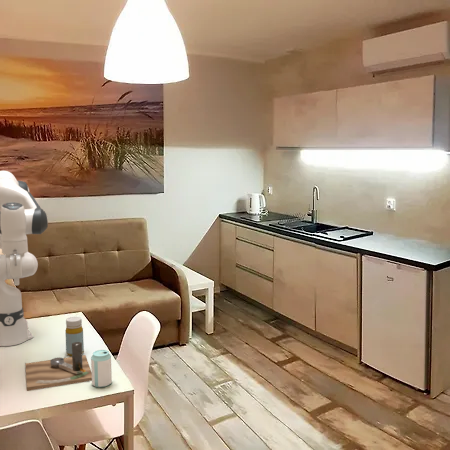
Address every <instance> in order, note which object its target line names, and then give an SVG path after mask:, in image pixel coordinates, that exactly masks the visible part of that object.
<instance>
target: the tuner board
mask: <svg viewBox="0 0 450 450" xmlns="http://www.w3.org/2000/svg"><path fill="white" fill-rule="evenodd" d="M62 358H63V359H64V362H66V363H68V364H71V365H73V364H72V356H68V357H62ZM50 361H51V359H47V360H41V361H40V360H39V361H34V362H25V365H24V366H25V379H26V392H28V391H34V390H35V391H36V390H40V389H46V388H52V387H53V388H55V387H60V386H65V385H66V386H67V385H74V384H78V383H85V382H92V370H91V367H90V364H89V361H88V359H87V356H86V354H84V355H83V354H82V363H83V369H84V370H86V372H82V373H79V374H74V373H72V372H69V371H67V370H64V369H62V368H53V367H51V363H50Z"/></svg>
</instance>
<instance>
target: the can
mask: <svg viewBox="0 0 450 450" xmlns="http://www.w3.org/2000/svg"><path fill="white" fill-rule="evenodd" d="M90 360H91V362H90V365H91V367H90V369H91V372H92V381H91V384H92V386H94V387H96V388H105V387H108V386H110V385H111V384H112V380H113V379H112V378H113V376H112V373H113V372H112V355H111V354H110V351H109V350H108V349H107V350H106V349H98V350H95V351H93V353H92V355H91V358H90Z"/></svg>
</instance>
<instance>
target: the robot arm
mask: <svg viewBox="0 0 450 450" xmlns="http://www.w3.org/2000/svg"><path fill="white" fill-rule="evenodd" d="M48 225H49V219H48V214H47V213H46V211H45V210H44V209H43V208H41V206H40V205H39V203H38V202H37V200H36V199H35V197H34V196H33V194H32V193H31V192H30V188H29V186H28V184H27V182H26V181H24V180H19V179H18V180H17V178H16V177H15V175H14V174H13V173H12V172H11V171H8V170H0V250H1V254H0V347H10V346H16V345H20V344H23V343H25V342H26V341H29V340H31V339H33V338H34V335H33V333H32V332H31V331H30V330H29V327H28V326H29V325H28V324H29V323H28V320H27V319H26V318H25V317H24V316H25V315H24V308H23V301H22V300H23V299H22V298H23V297H22V296H23V295H22V292H21V290H20V289H19V288H17V287H16V286H19V285H20V279H24V278H27V277H31V276H33V275H35V274H36V272H37V270H38V266H39V264H38V263H39V262H38V259H37V257H36V256H35V254H33V253H31V252H29V246H28V236H27V235H41V234H44V232H45V231H46V230H47V229H48ZM7 280H13V284H14V285H10V284H8V283H6V281H7Z"/></svg>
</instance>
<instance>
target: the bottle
mask: <svg viewBox="0 0 450 450" xmlns="http://www.w3.org/2000/svg"><path fill="white" fill-rule="evenodd" d="M82 319H83V318H82V317H80V316H70V317H67V318H66V320H65V325H66V327H65V351H66V355H67V356H68V357H72V343H74V342H81V343H82V354H83V353H84V351H85V349H84V347H85V346H84V345H85V344H84V328H83V326H82V324H83V323H82V321H83V320H82Z"/></svg>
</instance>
